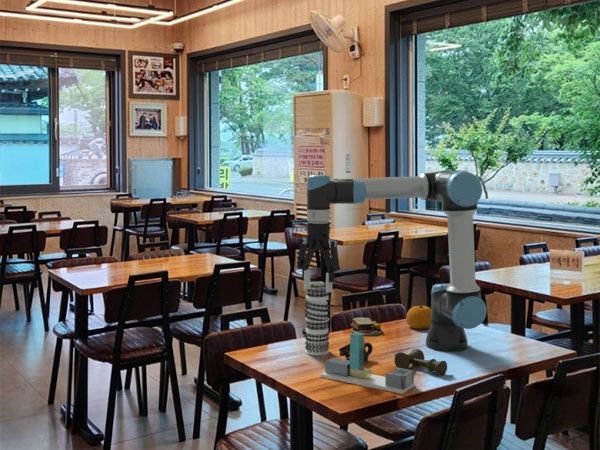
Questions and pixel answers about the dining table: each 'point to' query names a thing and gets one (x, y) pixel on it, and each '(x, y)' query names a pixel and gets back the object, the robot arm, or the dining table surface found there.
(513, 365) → the dining table surface
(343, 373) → the sleeve
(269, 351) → the dining table surface
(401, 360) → the kendama
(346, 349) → the brown grey jagged ring
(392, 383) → the socket
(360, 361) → the two-tone teal block
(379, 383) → the base board
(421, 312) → the fruit
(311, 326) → the decorative candle
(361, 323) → the toy sandwich meal
